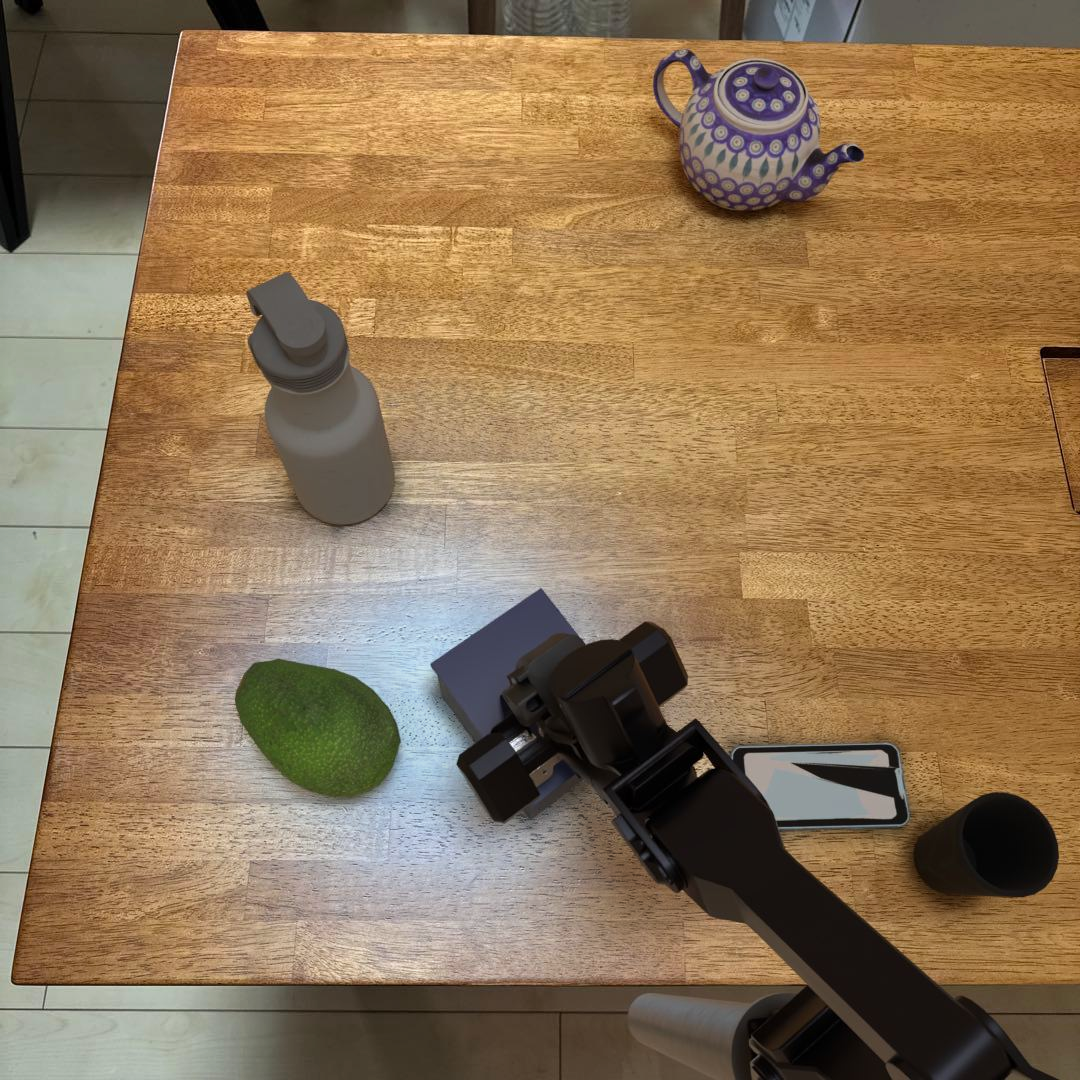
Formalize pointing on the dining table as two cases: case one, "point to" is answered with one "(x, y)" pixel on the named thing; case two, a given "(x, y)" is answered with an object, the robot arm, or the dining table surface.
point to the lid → (502, 668)
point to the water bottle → (319, 406)
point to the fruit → (318, 726)
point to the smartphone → (828, 784)
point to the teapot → (750, 134)
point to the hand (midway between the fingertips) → (529, 680)
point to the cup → (989, 849)
